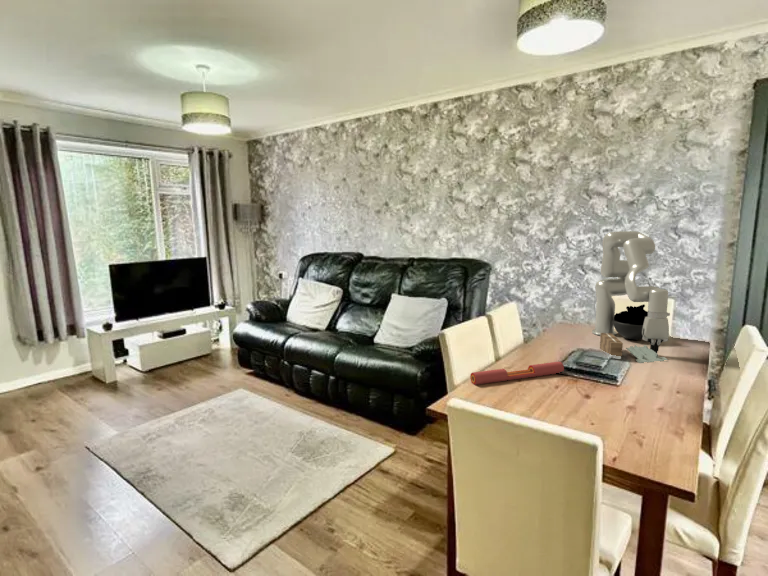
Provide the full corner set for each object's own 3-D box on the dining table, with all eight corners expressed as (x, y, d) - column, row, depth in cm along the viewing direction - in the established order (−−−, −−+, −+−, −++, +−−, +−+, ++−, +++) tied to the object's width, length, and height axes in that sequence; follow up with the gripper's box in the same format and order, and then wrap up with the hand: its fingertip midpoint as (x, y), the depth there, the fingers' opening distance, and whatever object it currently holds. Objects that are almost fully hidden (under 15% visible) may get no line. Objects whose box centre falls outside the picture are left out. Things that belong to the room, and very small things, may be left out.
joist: (599, 348, 214) (600, 332, 213) (610, 348, 213) (611, 333, 212) (609, 359, 197) (611, 342, 196) (621, 359, 196) (622, 342, 194)
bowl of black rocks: (623, 344, 219) (625, 309, 217) (605, 334, 239) (607, 302, 236) (662, 344, 219) (665, 308, 216) (640, 334, 238) (643, 301, 236)
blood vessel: (475, 386, 168) (476, 375, 167) (470, 382, 173) (470, 370, 172) (564, 374, 179) (564, 363, 179) (556, 370, 184) (556, 360, 183)
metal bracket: (621, 344, 202) (649, 342, 204) (618, 354, 204) (645, 352, 206) (642, 361, 189) (671, 358, 191) (638, 371, 191) (667, 369, 194)
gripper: (671, 313, 199) (668, 350, 202) (636, 312, 203) (633, 349, 206) (678, 317, 192) (675, 355, 195) (642, 316, 196) (639, 354, 198)
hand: (654, 352), depth 200 cm, fingers closed
